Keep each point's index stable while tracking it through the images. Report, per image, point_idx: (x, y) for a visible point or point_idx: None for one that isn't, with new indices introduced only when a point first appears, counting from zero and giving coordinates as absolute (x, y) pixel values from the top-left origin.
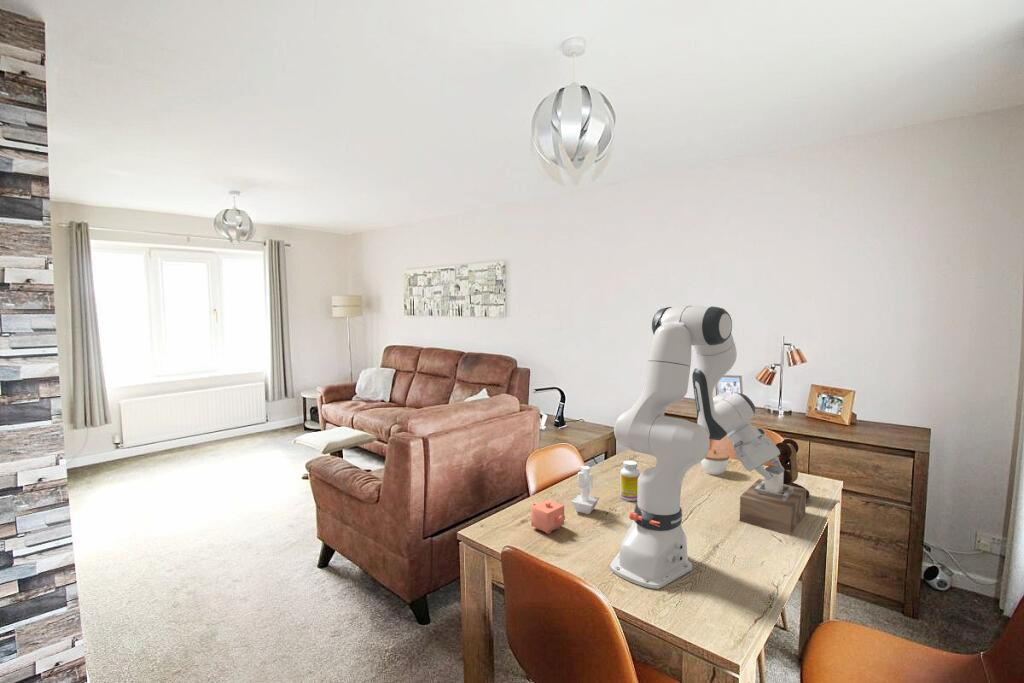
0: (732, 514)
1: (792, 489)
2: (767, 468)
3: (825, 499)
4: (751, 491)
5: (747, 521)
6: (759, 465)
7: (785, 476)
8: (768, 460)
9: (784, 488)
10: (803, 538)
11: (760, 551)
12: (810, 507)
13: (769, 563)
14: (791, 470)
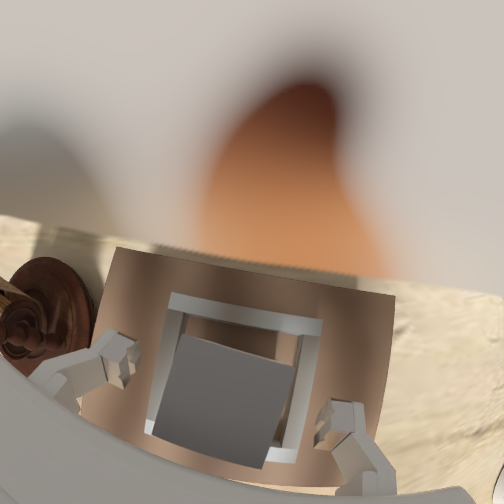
0: None
1: (191, 297)
2: (261, 455)
3: (45, 227)
4: (275, 467)
5: None
6: (434, 490)
7: (22, 318)
8: (225, 479)
9: (181, 334)
10: (351, 278)
11: (465, 357)
12: (102, 261)
13: (491, 328)
14: (5, 290)
